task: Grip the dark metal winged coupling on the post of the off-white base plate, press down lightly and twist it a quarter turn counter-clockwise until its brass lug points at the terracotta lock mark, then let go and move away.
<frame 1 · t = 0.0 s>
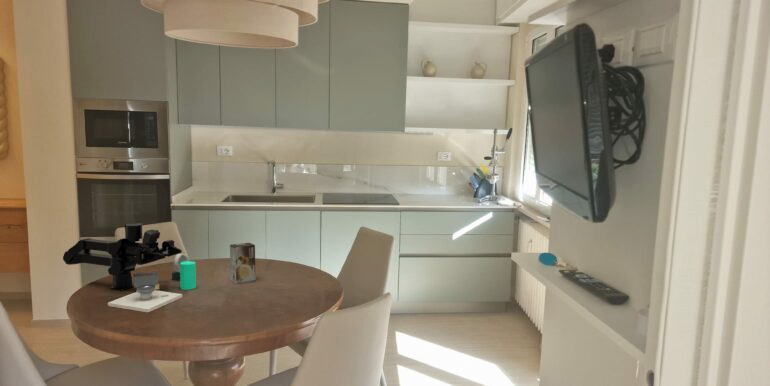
hand: (173, 253, 196), 17 cm above the table, tool horizontal, fingers open, 9 cm apart
post plate: (146, 301, 190), on the table
coupling: (146, 282, 189), point 7 cm above the table, hinge at 0.0°
candle: (188, 287, 208), on the table
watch: (180, 279, 220), on the table
coffee box: (242, 280, 220), on the table
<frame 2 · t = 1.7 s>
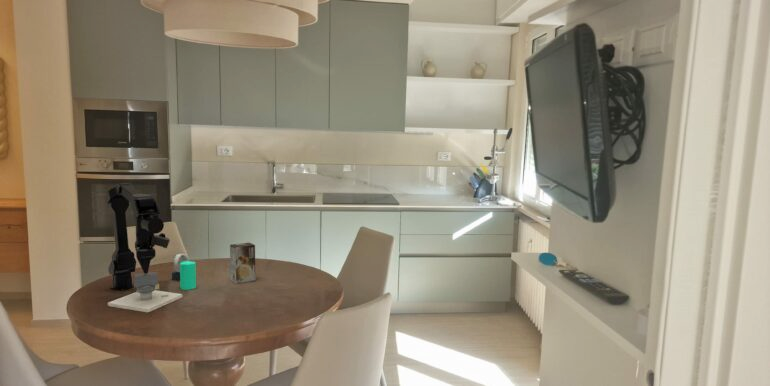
hand: (145, 270, 188), 12 cm above the table, tool pointing down, fingers open, 9 cm apart
nothing on the table moved.
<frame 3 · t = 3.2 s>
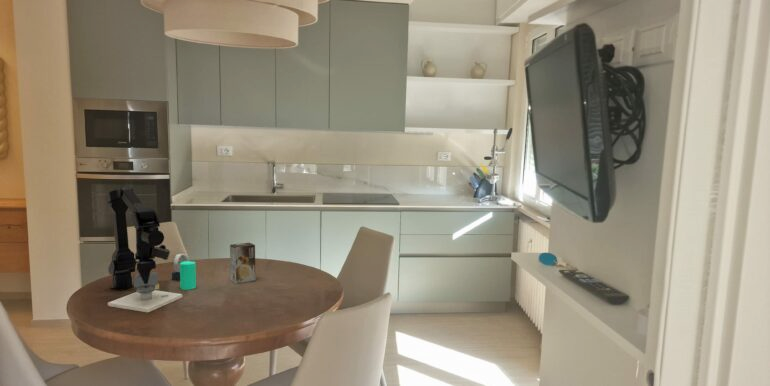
hand: (145, 282, 189), 8 cm above the table, tool pointing down, fingers closed on coupling, 4 cm apart
coupling: (146, 282, 189), point 7 cm above the table, hinge at 0.0°, touching gripper
everything else where it was.
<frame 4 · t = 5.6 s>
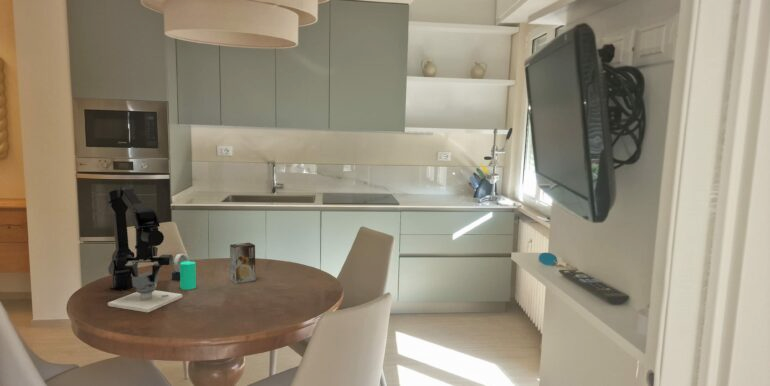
hand: (145, 282, 189), 7 cm above the table, tool pointing down, fingers closed on coupling, 5 cm apart
coupling: (146, 282, 189), point 7 cm above the table, hinge at 43.7°, touching gripper
everything else where it was.
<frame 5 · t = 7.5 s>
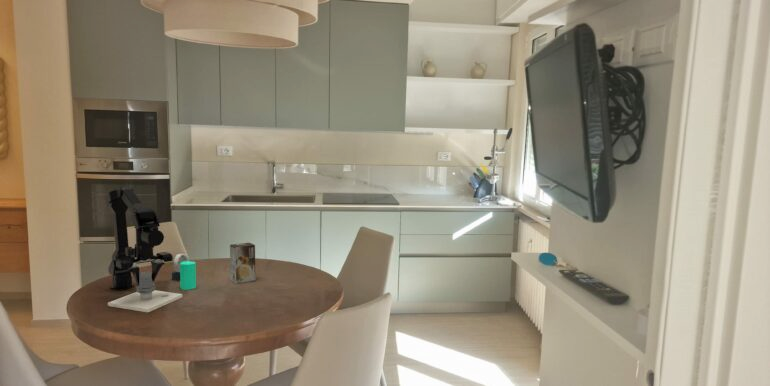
hand: (145, 282, 189), 7 cm above the table, tool pointing down, fingers closed on coupling, 5 cm apart
coupling: (145, 282, 189), point 7 cm above the table, hinge at 86.4°, touching gripper
everything else where it was.
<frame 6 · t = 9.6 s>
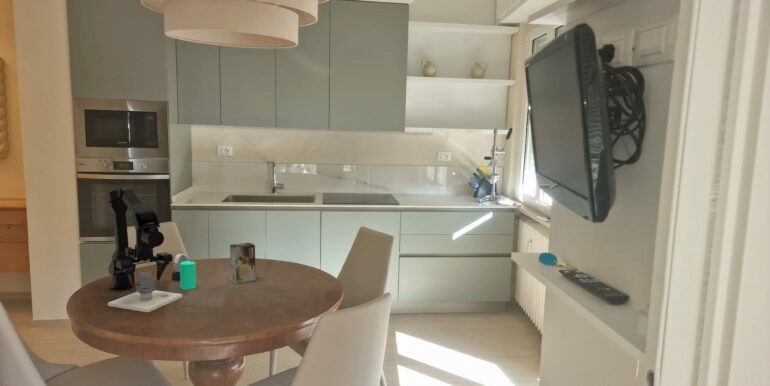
hand: (145, 282, 189), 7 cm above the table, tool pointing down, fingers open, 9 cm apart
coupling: (145, 282, 189), point 7 cm above the table, hinge at 88.2°
everything else where it was.
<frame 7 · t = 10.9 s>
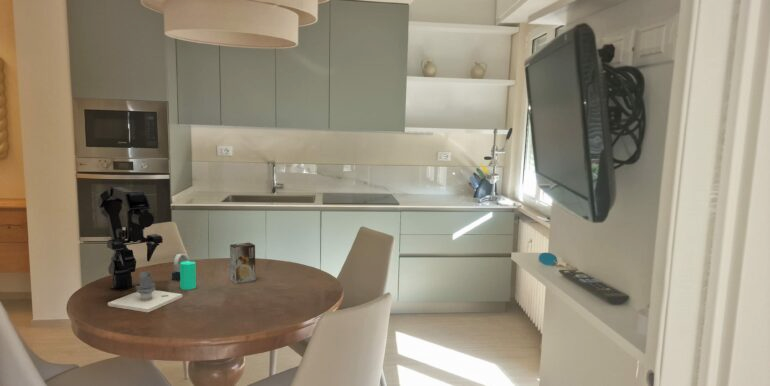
hand: (136, 263, 194), 13 cm above the table, tool pointing down, fingers open, 9 cm apart
nothing on the table moved.
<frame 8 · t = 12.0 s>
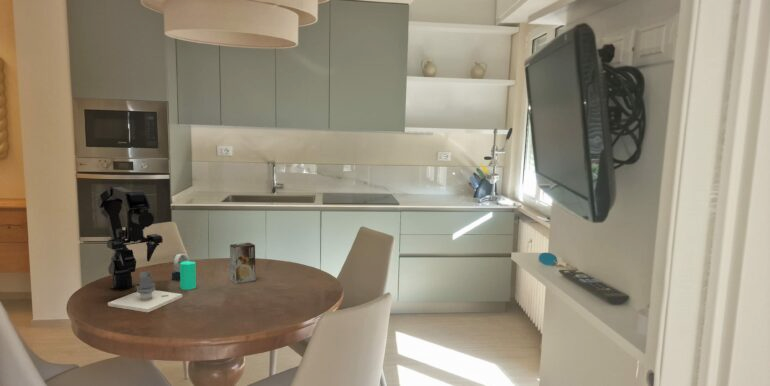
hand: (136, 263, 194), 13 cm above the table, tool pointing down, fingers open, 9 cm apart
nothing on the table moved.
at the end: coupling at +88° (first picture: +0°) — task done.
